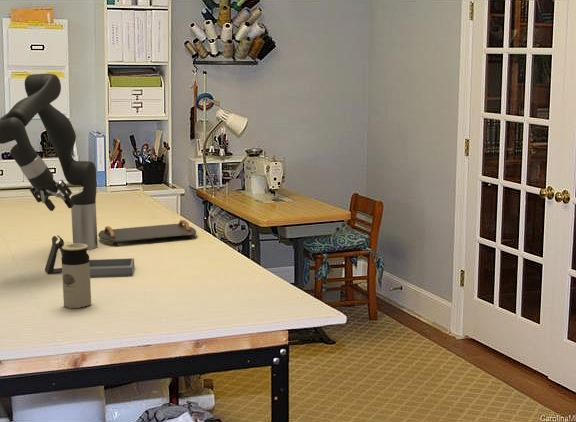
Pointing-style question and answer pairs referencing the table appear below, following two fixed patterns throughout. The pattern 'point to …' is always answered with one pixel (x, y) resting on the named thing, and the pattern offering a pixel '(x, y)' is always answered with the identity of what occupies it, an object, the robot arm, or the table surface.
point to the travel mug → (76, 276)
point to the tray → (111, 267)
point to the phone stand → (54, 256)
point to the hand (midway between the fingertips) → (62, 208)
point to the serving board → (147, 232)
